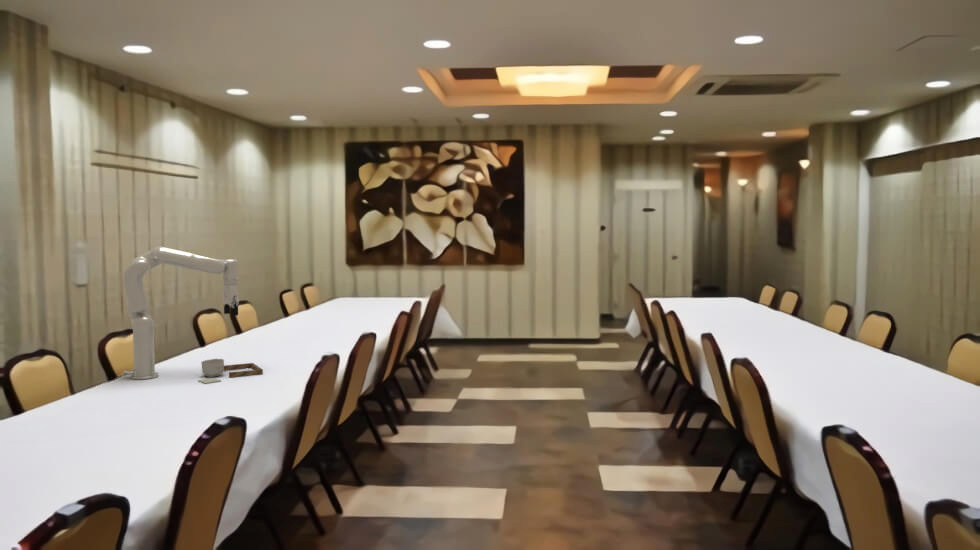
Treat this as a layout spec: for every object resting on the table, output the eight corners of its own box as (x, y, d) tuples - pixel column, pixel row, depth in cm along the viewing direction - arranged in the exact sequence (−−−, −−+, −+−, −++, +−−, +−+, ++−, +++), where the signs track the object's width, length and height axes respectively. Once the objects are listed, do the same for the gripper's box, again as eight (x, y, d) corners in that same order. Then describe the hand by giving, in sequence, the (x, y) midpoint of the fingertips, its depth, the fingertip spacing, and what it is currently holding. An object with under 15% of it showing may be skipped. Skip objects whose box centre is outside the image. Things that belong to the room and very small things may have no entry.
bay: (229, 377, 358) (229, 372, 358) (221, 370, 375) (221, 365, 374) (262, 374, 367) (262, 369, 366) (252, 367, 383) (252, 362, 383)
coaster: (205, 385, 343) (205, 382, 343) (197, 382, 349) (197, 380, 348) (221, 382, 349) (221, 380, 349) (213, 380, 354) (213, 377, 354)
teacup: (219, 378, 356) (218, 362, 356) (197, 378, 356) (197, 362, 356) (229, 372, 370) (229, 357, 369) (209, 372, 370) (209, 357, 370)
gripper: (217, 281, 378) (217, 313, 380) (230, 284, 366) (231, 316, 367) (230, 281, 383) (231, 312, 385) (244, 283, 371) (245, 315, 372)
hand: (231, 314), depth 376 cm, fingers open, 9 cm apart
